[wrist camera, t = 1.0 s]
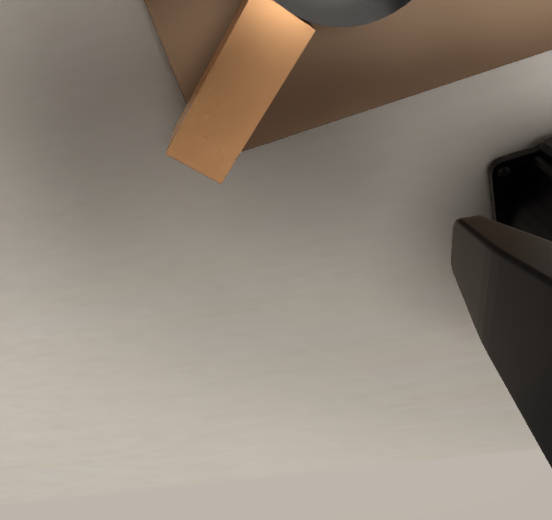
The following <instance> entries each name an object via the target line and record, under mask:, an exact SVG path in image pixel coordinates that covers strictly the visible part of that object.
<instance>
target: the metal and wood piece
mask: <svg viewBox="0 0 552 520" xmlns="http://www.w3.org/2000/svg"><path fill="white" fill-rule="evenodd" d="M410 1H411V0H243V1H242V3H241V5H240V6H239V8H238V10H237V12H236V14H235V16H234V18H233V19H232V21H231V23H230V25H229V27H228V29H227V31H226V33H225V34H224V36H223V38H222V40H221V42H220V44H219V46H218V47H217V49H216V51H215V53H214V55H213V57H212V59H211V61H210V62H209V64H208V66H207V68H206V70H205V72H204V74H203V75H202V77H201V79H200V81H199V83H198V85H197V87H196V88H195V90H194V92H193V94H192V96H191V98H190V100H189V102H188V103H187V105H186V107H185V109H184V111H183V113H182V115H181V116H180V118H179V120H178V122H177V124H176V126H175V128H174V131H173V134H172V137H171V139H170V142H169V145H168V148H167V151H166V155H168V156H170V157H172V158H174V159H176V160H178V161H179V162H181V163H183V164H185V165H187V166H189V167H191V168H192V169H194V170H196V171H198V172H200V173H202V174H204V175H205V176H207V177H209V178H211V179H213V180H215V181H217V182H218V183H220V184H221V183H222V182H223V180H224V178H225V177H226V175H227V174H228V172H229V170H230V169H231V167H232V165H233V164H234V162H235V161H236V159H237V157H238V156H239V154H240V152H241V151H242V149H243V148H244V146H245V144H246V143H247V141H248V139H249V138H250V136H251V135H252V133H253V131H254V130H255V128H256V126H257V125H258V123H259V122H260V120H261V118H262V117H263V115H264V114H265V112H266V110H267V109H268V107H269V105H270V104H271V102H272V101H273V99H274V97H275V96H276V94H277V92H278V91H279V89H280V88H281V86H282V84H283V83H284V81H285V79H286V78H287V76H288V75H289V73H290V71H291V70H292V68H293V66H294V65H295V63H296V62H297V60H298V58H299V57H300V55H301V53H302V52H303V50H304V49H305V47H306V45H307V44H308V42H309V40H310V39H311V37H312V36H313V34H314V32H315V31H316V30H315V29H314V27H313V26H312V25H311V23H310V22H312V23H315V24H319V25H323V26H331V27H354V26H359V25H365V24H368V23H371V22H374V21H377V20H380V19H382V18H384V17H386V16H388V15H391V14H393V13H394V12H396V11H397V10H399V9H400V8H402V7H404V6H405V5H406V4H407V3H409V2H410Z"/></svg>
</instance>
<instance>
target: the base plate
mask: <svg viewBox="0 0 552 520" xmlns="http://www.w3.org/2000/svg"><path fill="white" fill-rule="evenodd" d="M242 1H243V0H144V2H145V4H146V6H147V9H148V11H149V14H150V16H151V19H152V21H153V23H154V26H155V28H156V31H157V33H158V35H159V38H160V40H161V43H162V45H163V48H164V50H165V52H166V55H167V57H168V60H169V62H170V64H171V67H172V69H173V72H174V74H175V77H176V79H177V81H178V84H179V86H180V89H181V91H182V94H183V96H184V98H185V101H186V103H188V102H189V100H190V98H191V96H192V94H193V92H194V90H195V88H196V87H197V85H198V83H199V81H200V79H201V77H202V75H203V74H204V72H205V70H206V68H207V66H208V64H209V62H210V61H211V59H212V57H213V55H214V53H215V51H216V49H217V47H218V46H219V44H220V42H221V40H222V38H223V36H224V34H225V33H226V31H227V29H228V27H229V25H230V23H231V21H232V19H233V18H234V16H235V14H236V12H237V10H238V8H239V6H240V5H241V3H242ZM310 23H311V25H312V26H313V27H314V29H315V30H316V31H315V32H314V34H313V36H312V37H311V39H310V40H309V42H308V44H307V45H306V47H305V49H304V50H303V52H302V53H301V55H300V57H299V58H298V60H297V62H296V63H295V65H294V66H293V68H292V70H291V71H290V73H289V75H288V76H287V78H286V79H285V81H284V83H283V84H282V86H281V88H280V89H279V91H278V92H277V94H276V96H275V97H274V99H273V101H272V102H271V104H270V105H269V107H268V109H267V110H266V112H265V114H264V115H263V117H262V118H261V120H260V122H259V123H258V125H257V126H256V128H255V130H254V131H253V133H252V135H251V136H250V138H249V139H248V141H247V143H246V144H245V146H244V148H243V149H242V151H245V150H248V149H251V148H254V147H257V146H261V145H264V144H267V143H270V142H273V141H276V140H279V139H282V138H285V137H288V136H291V135H294V134H297V133H300V132H303V131H306V130H309V129H312V128H315V127H318V126H321V125H324V124H327V123H330V122H333V121H336V120H339V119H342V118H346V117H349V116H352V115H355V114H358V113H361V112H364V111H367V110H370V109H373V108H376V107H379V106H382V105H385V104H388V103H391V102H394V101H397V100H400V99H403V98H406V97H409V96H412V95H415V94H418V93H421V92H424V91H427V90H431V89H434V88H437V87H440V86H443V85H446V84H449V83H452V82H455V81H458V80H461V79H464V78H467V77H470V76H473V75H476V74H479V73H482V72H485V71H488V70H491V69H494V68H497V67H500V66H503V65H506V64H509V63H513V62H516V61H519V60H522V59H525V58H528V57H531V56H534V55H537V54H540V53H543V52H546V51H549V50H552V0H411V1H410V2H409V3H407V4H406V5H405V6H404V7H402V8H400V9H399V10H397V11H396V12H394V13H393V14H391V15H388V16H386V17H384V18H382V19H380V20H377V21H374V22H371V23H368V24H365V25H359V26H354V27H331V26H323V25H319V24H315V23H312V22H310ZM242 151H241V152H242Z"/></svg>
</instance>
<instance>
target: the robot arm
mask: <svg viewBox="0 0 552 520" xmlns="http://www.w3.org/2000/svg"><path fill="white" fill-rule="evenodd" d="M502 167H506V169H505V171H504V172H503V173H501V174H498V171H499V170H500V168H502ZM488 176H489V186H490V195H491V205H492V215H493V220H491V219H488V218H485V217H483V216H471V217H465V218H459V219H457V220H456V221H455V223H454V226H453V236H452V251H451V265H452V270H453V273H454V276H455V278H456V281H457V283H458V286H459V288H460V291H461V293H462V296H463V298H464V301H465V303H466V306H467V308H468V311H469V313H470V315H471V318H472V320H473V323H474V325H475V328H476V330H477V333H478V335H479V337H480V339H481V342H482V344H483V346H484V347H485V349H486V351H487V353H488V355H489V357H490V359H491V360H492V362H493V364H494V366H495V368H496V369H497V371H498V373H499V375H500V376H501V378H502V380H503V382H504V384H505V385H506V387H507V389H508V391H509V393H510V394H511V396H512V398H513V400H514V402H515V403H516V405H517V407H518V409H519V410H520V412H521V414H522V416H523V418H524V419H525V421H526V423H527V425H528V427H529V428H530V430H531V432H532V434H533V436H534V437H535V439H536V441H537V443H538V444H539V446H540V448H541V450H542V452H543V453H544V455H545V457H546V459H547V460H548V462H549V464H550V466H551V467H552V139H549V140H545V141H544V142H542V143H541V144H540V145H539V146H537V147H534V148H530V149H527V150H524V151H521V152H517V153H514V154H511V155H508V156H504V157H501V158H498V159H496V160H494V161H493V162H492V163H491V165H490V166H489V169H488Z"/></svg>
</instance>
